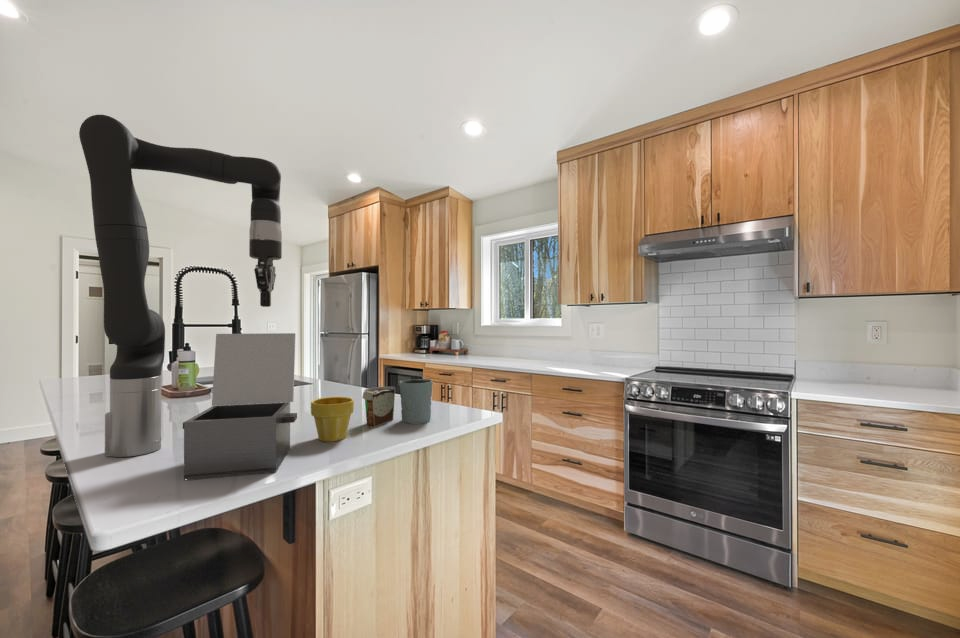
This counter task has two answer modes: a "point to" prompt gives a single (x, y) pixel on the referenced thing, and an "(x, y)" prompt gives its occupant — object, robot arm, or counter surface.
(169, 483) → the counter surface
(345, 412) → the plant pot
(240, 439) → the grey metal storage bin
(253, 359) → the storage bin lid
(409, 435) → the counter surface
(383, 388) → the food container
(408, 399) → the grey green cup
